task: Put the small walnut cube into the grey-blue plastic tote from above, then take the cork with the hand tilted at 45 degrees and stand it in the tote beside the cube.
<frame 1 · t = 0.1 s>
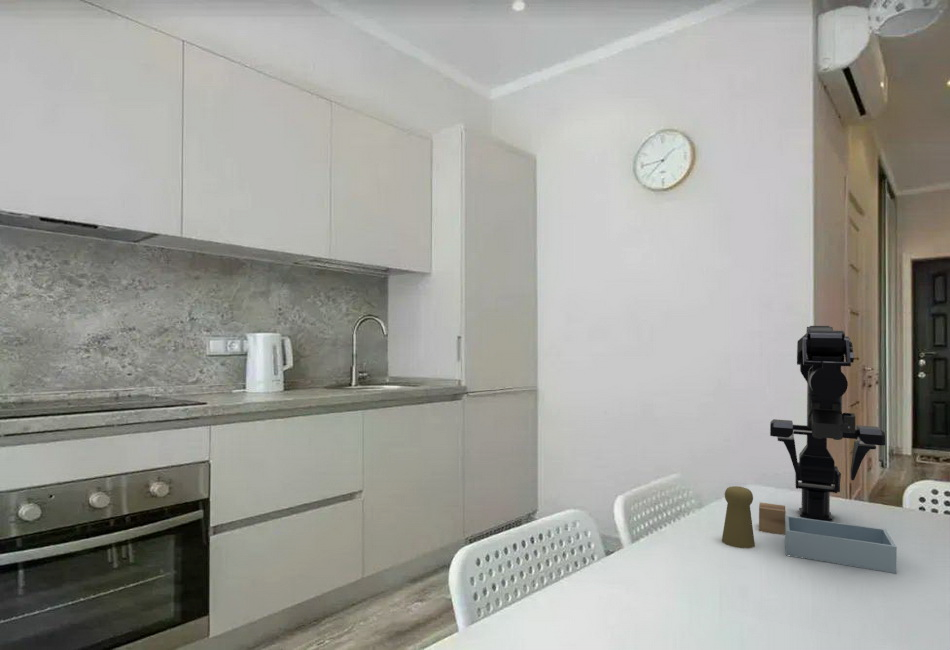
hand: (824, 476, 114), 15 cm above the table, tool pointing down, fingers open, 9 cm apart
tote: (836, 554, 113), on the table
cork: (738, 543, 119), on the table
walnut cube: (772, 530, 127), on the table
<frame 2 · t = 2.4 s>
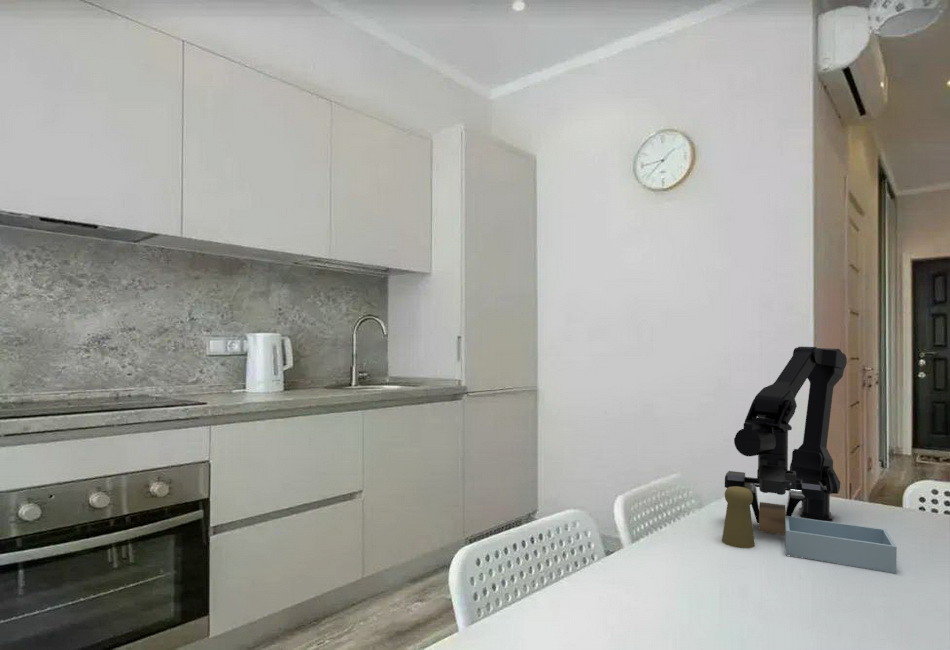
hand: (772, 524, 127), 1 cm above the table, tool pointing down, fingers closed on walnut cube, 5 cm apart
walnut cube: (772, 529, 127), on the table, touching gripper
everything else where it was.
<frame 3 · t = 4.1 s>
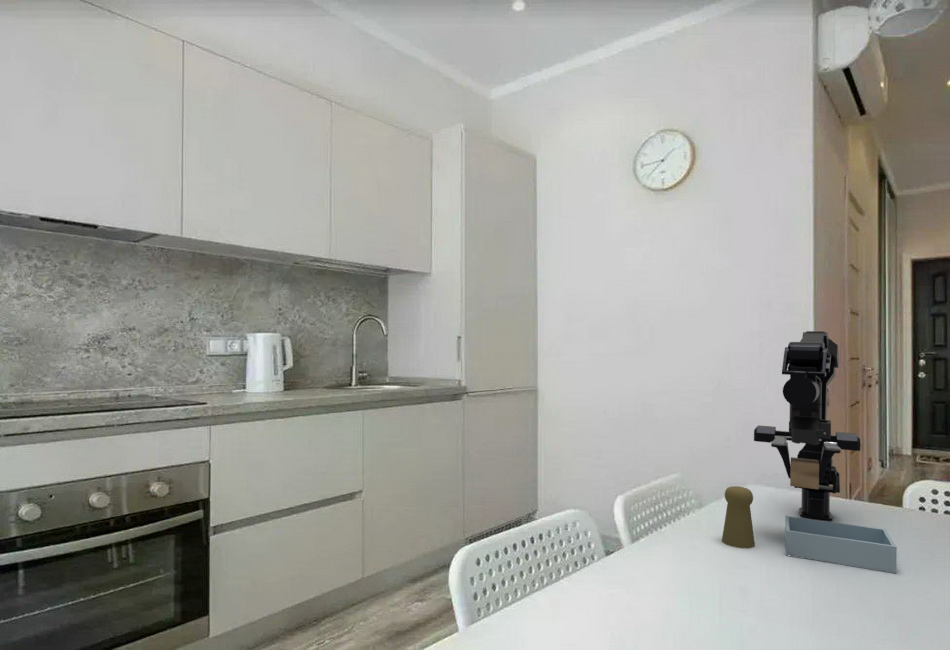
hand: (804, 480, 121), 12 cm above the table, tool pointing down, fingers closed on walnut cube, 5 cm apart
walnut cube: (804, 485, 121), point 11 cm above the table, touching gripper
everything else where it was.
when the fingers open (5 cm above the table, at t = 6.0 s): walnut cube drops 4 cm, resting on tote.
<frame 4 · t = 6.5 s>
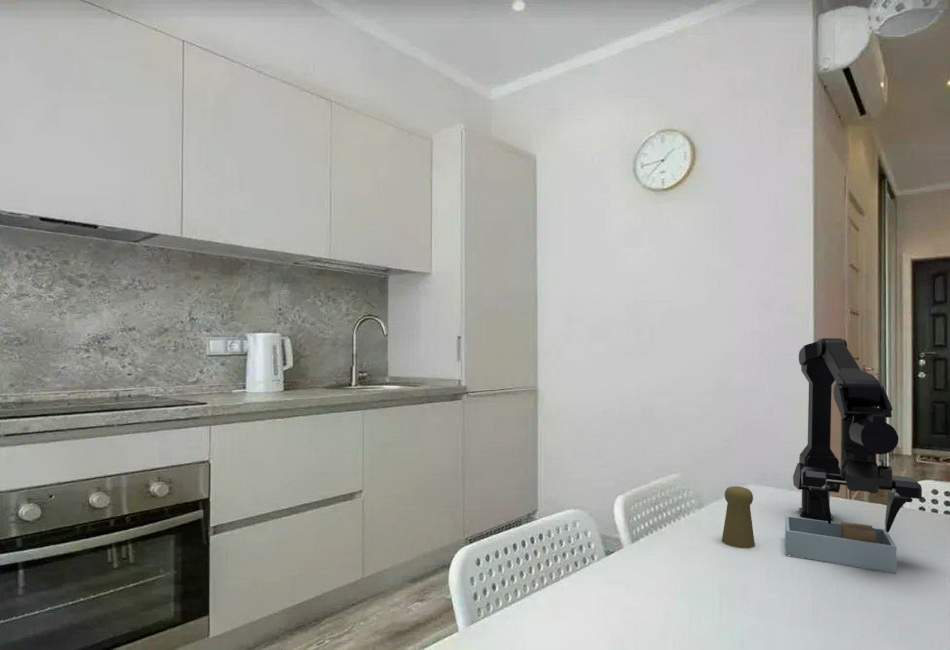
hand: (857, 527, 112), 5 cm above the table, tool pointing down, fingers open, 9 cm apart
walnut cube: (857, 553, 112), point 1 cm above the table, touching tote
everything else where it was.
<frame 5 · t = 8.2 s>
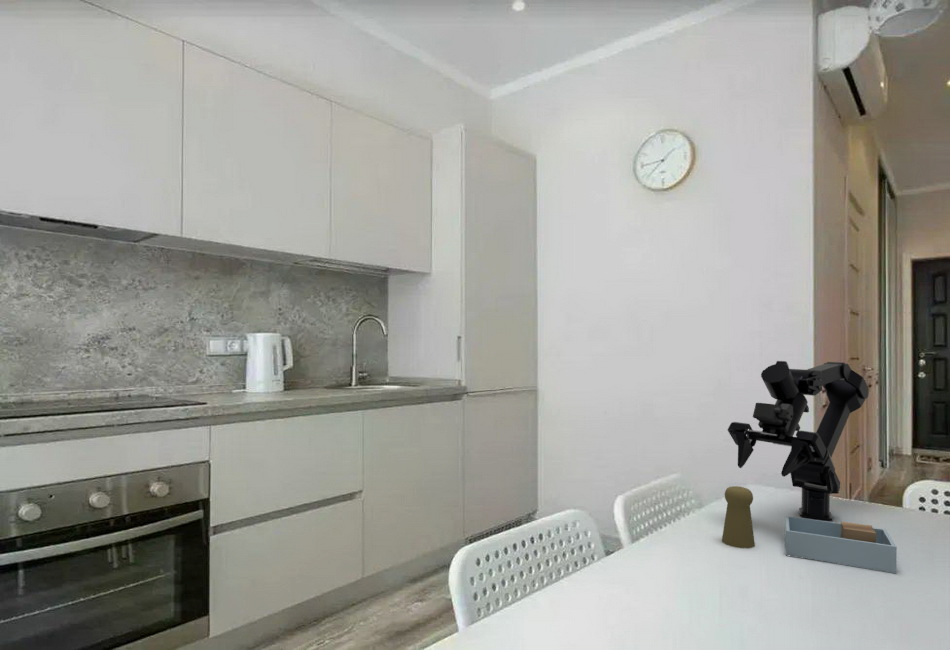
hand: (760, 470, 123), 13 cm above the table, tool tilted 45°, fingers open, 9 cm apart
nothing on the table moved.
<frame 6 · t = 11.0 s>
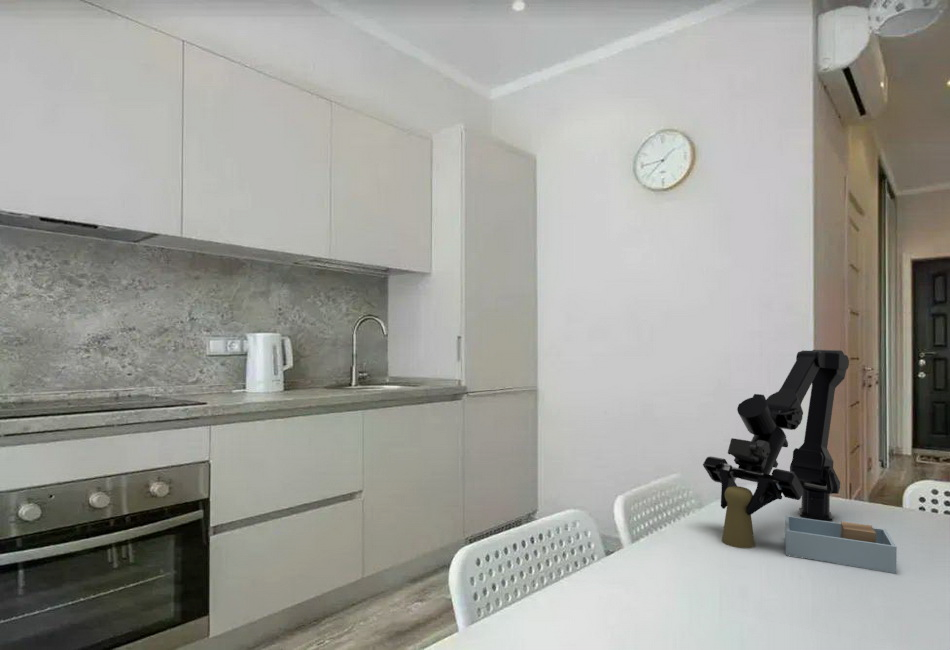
hand: (734, 510, 118), 7 cm above the table, tool tilted 45°, fingers closed on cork, 5 cm apart
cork: (738, 543, 119), on the table, touching gripper
everything else where it was.
when the fingers open (8 cm above the table, at t = 14.2 s): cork drops 1 cm, resting on tote.
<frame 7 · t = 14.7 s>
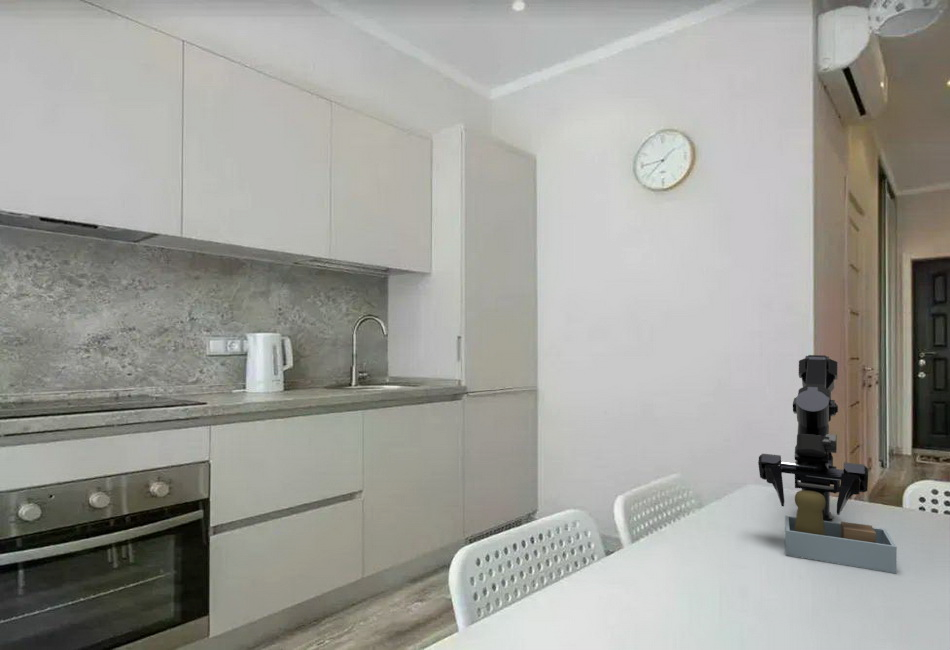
hand: (809, 509, 113), 9 cm above the table, tool tilted 45°, fingers open, 9 cm apart
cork: (809, 550, 114), resting on tote
everything else where it was.
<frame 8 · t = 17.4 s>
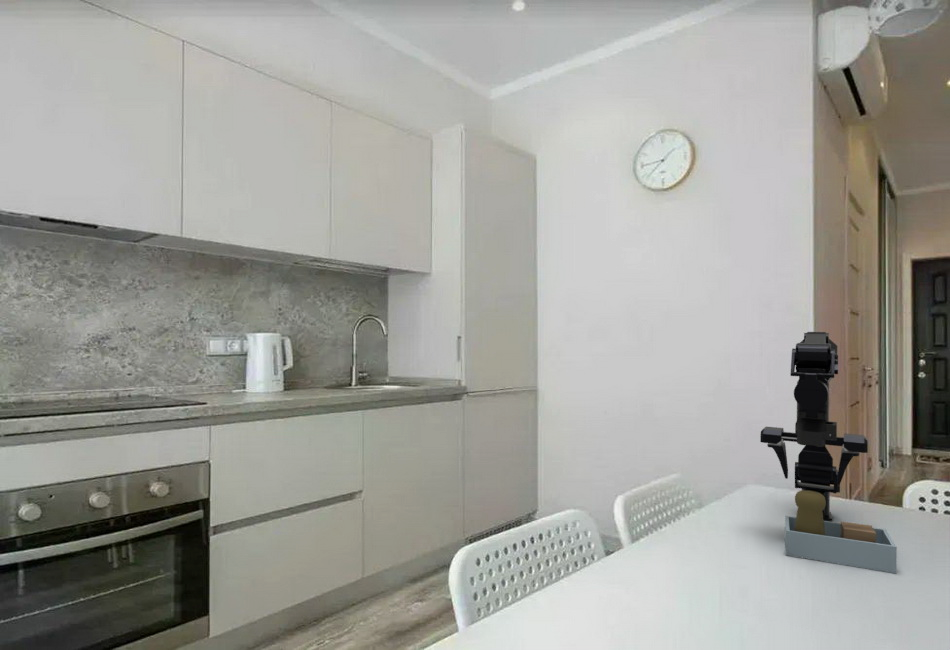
hand: (811, 481, 121), 12 cm above the table, tool pointing down, fingers open, 9 cm apart
nothing on the table moved.
at the end: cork inside the target area on the tote (4.7 cm from its centre), point 0.4 cm above the tote's base; walnut cube inside the target area on the tote (3.5 cm from its centre), point 0.6 cm above the tote's base; the gripper is holding nothing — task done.
